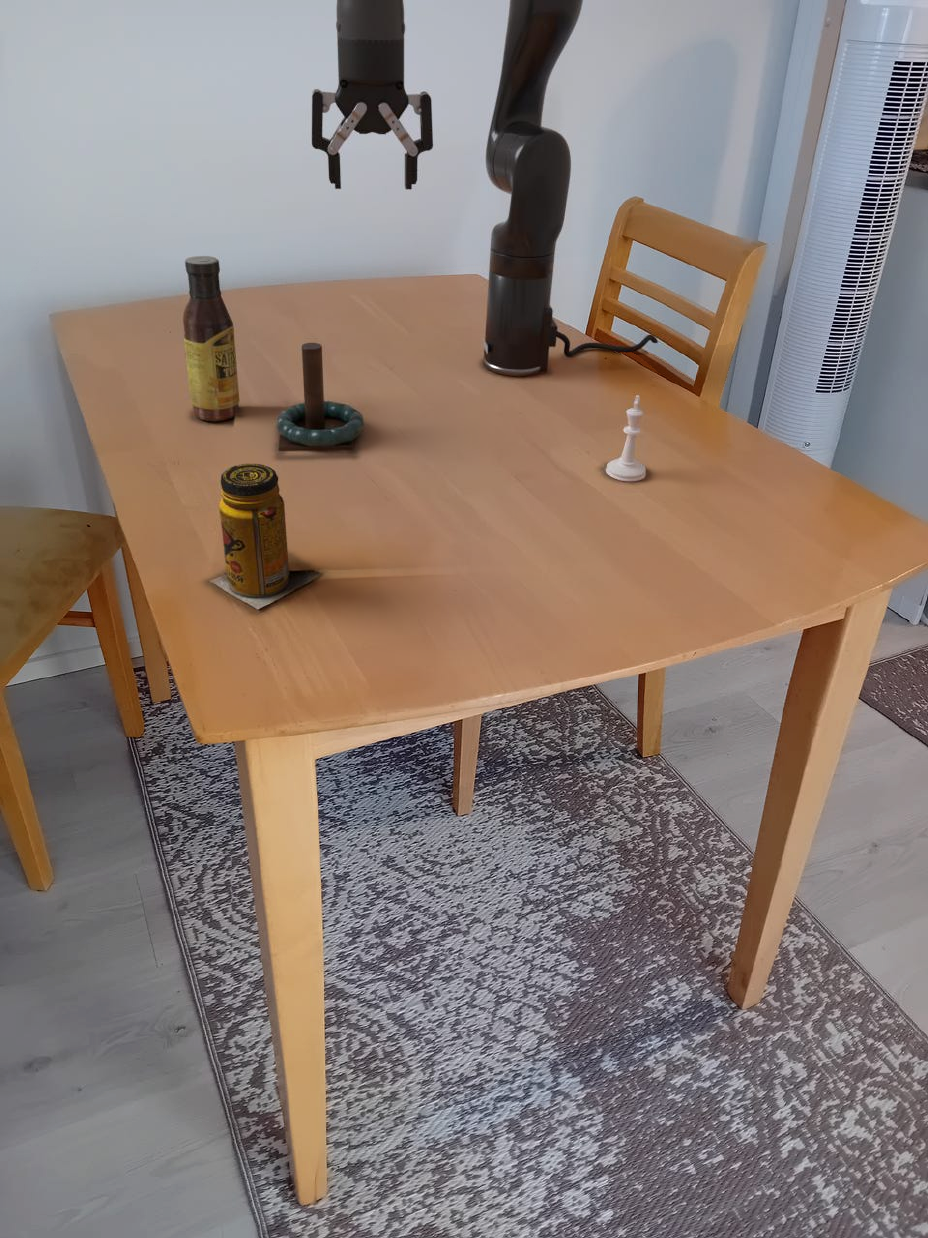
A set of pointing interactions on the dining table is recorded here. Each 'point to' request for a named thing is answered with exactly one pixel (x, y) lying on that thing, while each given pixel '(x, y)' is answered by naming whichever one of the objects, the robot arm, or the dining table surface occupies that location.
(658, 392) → the dining table surface
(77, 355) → the dining table surface
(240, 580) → the condiment
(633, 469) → the chess piece
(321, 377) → the peg stand
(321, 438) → the ring
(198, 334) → the sauce bottle
